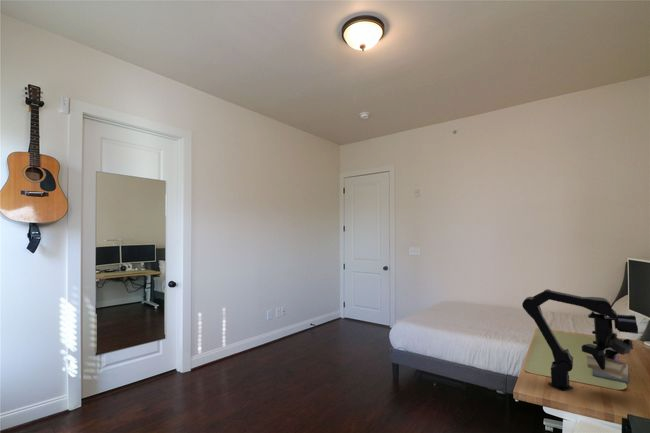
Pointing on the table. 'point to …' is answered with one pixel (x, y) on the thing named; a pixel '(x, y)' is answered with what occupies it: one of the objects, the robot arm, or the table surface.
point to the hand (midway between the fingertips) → (606, 368)
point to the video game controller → (618, 359)
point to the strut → (608, 367)
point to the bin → (606, 376)
